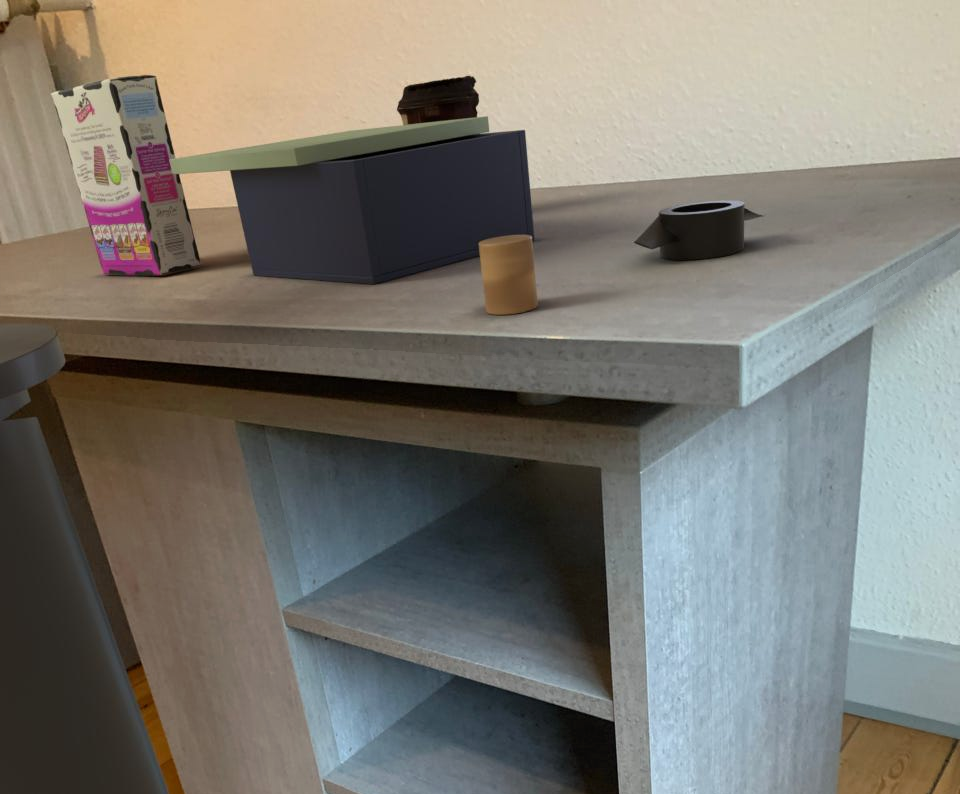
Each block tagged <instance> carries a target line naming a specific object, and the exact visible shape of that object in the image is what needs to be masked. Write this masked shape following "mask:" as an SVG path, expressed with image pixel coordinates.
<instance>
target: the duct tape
mask: <svg viewBox="0 0 960 794" xmlns="http://www.w3.org/2000/svg"><path fill="white" fill-rule="evenodd" d="M766 216H767V215H766V214H760V213H757V212H754V211H752V210H750V209H748V208H747V207H745V202H744V201H741V200H710V201H699V202H691V203H684V204H678V205H673V206H669V207H666V208H662V209H660V210H659V211H658V216H657V217H656V218H655V219H654V220H653V222H651V224H649V226H648V227H647V228H646V229H645V230H644V231H643V233H642V234H640V235H639V236H638V237H637V238H636V240H634V241H633V243H634V244H635V245H639V246H640V247H642V248H645V249H649V250H652V251H654V250H655V249H658V248H659V257H660V258H662V259H664V260H672V261H692V260H693V261H695V260H705V259H713V258H720V257H726V256H730V255H734V254H737V253H740V252H741V251H743V250H744V249H745V221H750V220H754V219H758V218H764V217H766Z"/></svg>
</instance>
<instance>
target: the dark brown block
mask: <svg viewBox="0 0 960 794" xmlns="http://www.w3.org/2000/svg"><path fill="white" fill-rule="evenodd" d="M476 83H477V79H476V78H475V76H472V75H465V76H461V77H460V76H458V77H451V78H443V79H437V80H432V81H427V82H420V83H414V84H408V85H406V86H404V88H403V91H402V95H401V99H400V100H399V101H398V103H397V107H396V111H397V113H398V114H399V116H400V117H401V121H402V125H409V124H419V123H428V122H438V121H447V120H457V119H466V118H476V117H478V109H477V107H478V106H479V103H480V95H479V93H478V92H477V90H476V89H475V87H476V86H475V85H476Z"/></svg>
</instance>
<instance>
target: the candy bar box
mask: <svg viewBox="0 0 960 794" xmlns="http://www.w3.org/2000/svg"><path fill="white" fill-rule="evenodd" d="M157 79H158V78H157V76H156V75H152V74H142V75H141V74H140V75H129V76H119V77H111V78H107V79H106V78H105V79H103V80H98V81H94V82H90V83H86V84H83V85H82V84H81V85H78V86H74V87H69V88H66V89H61V90H57V91H54V92H52V93H50V95H51V98H52V100H53V104H54V107H55V111H56V114H57V115H56V116H57V117H58V118H57V119H58V121H59V124H60V129H61V132H62V135H63V138H64V141H65V146H66V150H67V153H68V156H69V159H70V163H71V167H72V169H73V174H74V177H75V181H76V184H77V187H78V190H79V195H80V198H81V202H82V205H83V208H84V211H85V215H86V218H87V222H88V226H89V229H90V233H91V236H92V239H93V243H94V247H95V250H96V254H97V257H98V261H99V264H100V267H101V271H102V274H103V275H105V276H137V277H138V276H142V277H143V276H146V277H147V276H148V277H149V276H150V277H151V276H153V277H156V276H157V277H158V276H159V277H163V276H167V275H171V274H172V275H173V274H175V273H176V274H177V273H179V272H185V271H188V270H194V269H197V268H199V267H201V266H202V262H201V258H200V254H199V250H198V245H197V242H196V238H195V234H194V229H193V225H192V220H191V217H190V213H189V208H188V205H187V200H186V197H185V193H184V188H183V184H182V181H181V177H180V174H173V173H172V169H171V165H170V161H169V159H175V158H176V154H175V150H174V147H173V141H172V138H171V134H170V130H169V125H168V122H167V117H166V113H165V108H164V105H163V101H162V97H161V92H160V88H159V84H158V80H157Z"/></svg>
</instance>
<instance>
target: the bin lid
mask: <svg viewBox="0 0 960 794" xmlns="http://www.w3.org/2000/svg"><path fill="white" fill-rule="evenodd" d="M483 133H490V123H489V116H487V115H486V116H477V117H476V118H466V119H457V120H447V121H438V122H428V123H419V124H409V125H403V124H401V125H392V126H391V125H390V126H381V127H373V128H371V127H370V128H362V129H354V130H345V131H339V132H333V133H327V134H320V135H313V136H308V137H302V138H301V137H300V138H295V139H290V140H283V141H277V142H271V143H264V144H257V145H251V146H245V147H239V148H233V149H227V150H226V149H225V150H219V151H213V152H208V153H201V154H195V155H187V156H182V157H175V159H169V161H170V165H171V169H172V173H173V174H179V175H186V174H198V173H213V172H230V170H244V169H259V168H274V167H288V166H300V165H305V164H311V163H317V162H322V161H328V160H334V159H339V158H345V157H351V156H356V155H362V154H367V153H373V152H379V151H384V150H390V149H396V148H401V147H407V146H413V145H418V144H424V143H430V142H435V141H441V140H446V139H452V138H458V137H463V136H469V135H475V134H483Z"/></svg>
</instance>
